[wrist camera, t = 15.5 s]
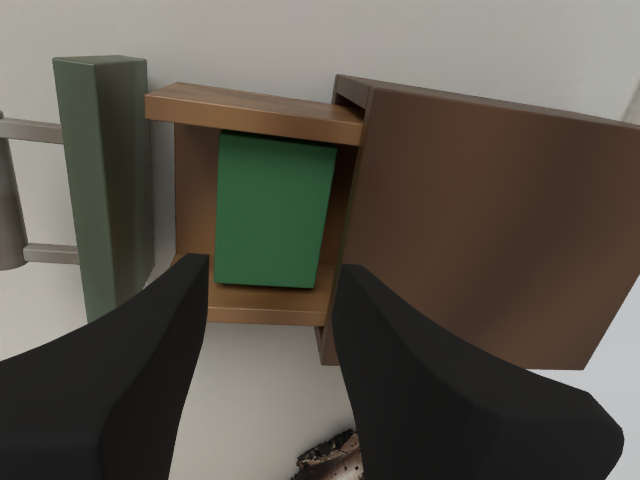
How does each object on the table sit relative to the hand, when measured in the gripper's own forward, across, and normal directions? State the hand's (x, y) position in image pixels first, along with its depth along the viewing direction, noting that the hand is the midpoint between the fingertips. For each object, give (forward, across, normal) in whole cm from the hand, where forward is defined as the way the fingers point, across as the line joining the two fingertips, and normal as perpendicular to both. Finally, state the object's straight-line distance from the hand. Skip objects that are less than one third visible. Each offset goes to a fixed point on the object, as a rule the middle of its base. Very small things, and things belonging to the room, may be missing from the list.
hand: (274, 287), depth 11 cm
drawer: (+10, +3, 0) cm, 10 cm away
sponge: (+8, 0, 0) cm, 8 cm away
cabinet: (+10, -10, 0) cm, 14 cm away
